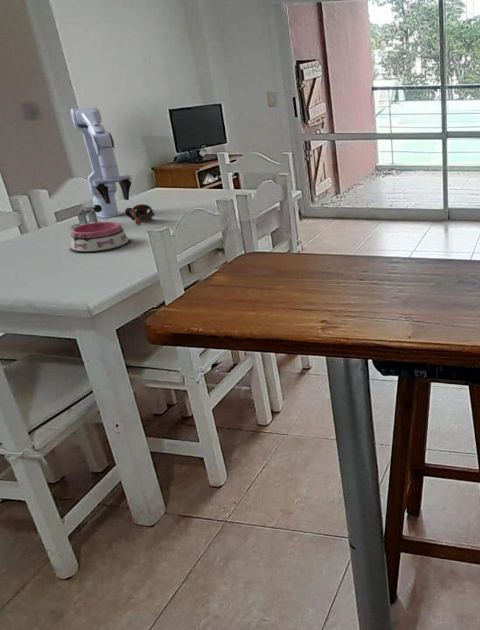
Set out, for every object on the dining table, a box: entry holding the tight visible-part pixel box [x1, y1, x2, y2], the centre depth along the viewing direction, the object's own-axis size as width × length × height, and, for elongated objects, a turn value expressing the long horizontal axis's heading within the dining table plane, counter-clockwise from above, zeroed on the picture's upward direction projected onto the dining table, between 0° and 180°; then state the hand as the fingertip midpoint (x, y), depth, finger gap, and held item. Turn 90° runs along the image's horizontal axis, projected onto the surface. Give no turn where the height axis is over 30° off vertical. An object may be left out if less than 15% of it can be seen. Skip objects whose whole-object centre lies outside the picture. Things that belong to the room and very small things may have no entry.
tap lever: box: [83, 204, 102, 217], centre depth 224 cm, size 13×3×3 cm, turn 56°
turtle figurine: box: [124, 203, 156, 226], centre depth 234 cm, size 12×10×8 cm
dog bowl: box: [70, 221, 130, 254], centre depth 204 cm, size 18×19×7 cm
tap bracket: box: [71, 205, 100, 229], centre depth 228 cm, size 10×9×8 cm
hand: (117, 201), depth 224 cm, fingers open, 7 cm apart
